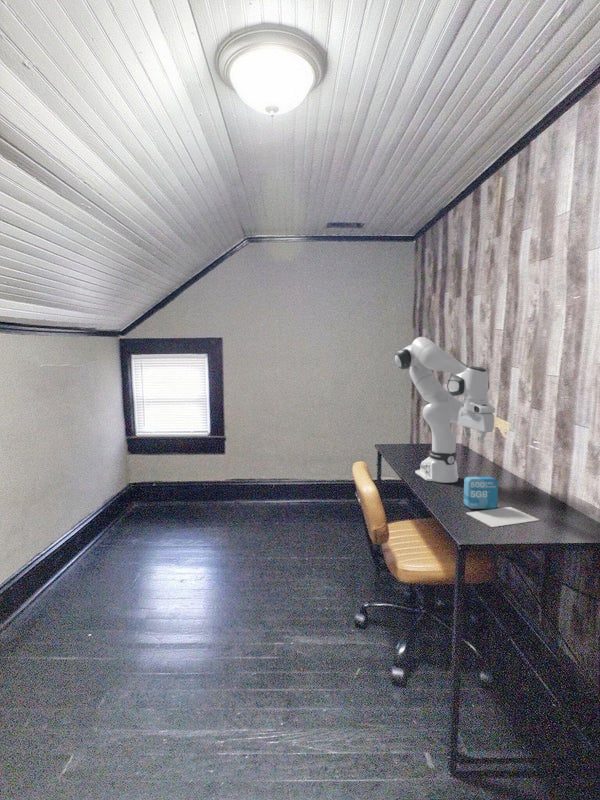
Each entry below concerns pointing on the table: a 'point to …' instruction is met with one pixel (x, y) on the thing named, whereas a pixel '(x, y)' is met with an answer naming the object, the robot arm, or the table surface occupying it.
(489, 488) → the data package
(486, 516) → the mat
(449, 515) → the table surface
